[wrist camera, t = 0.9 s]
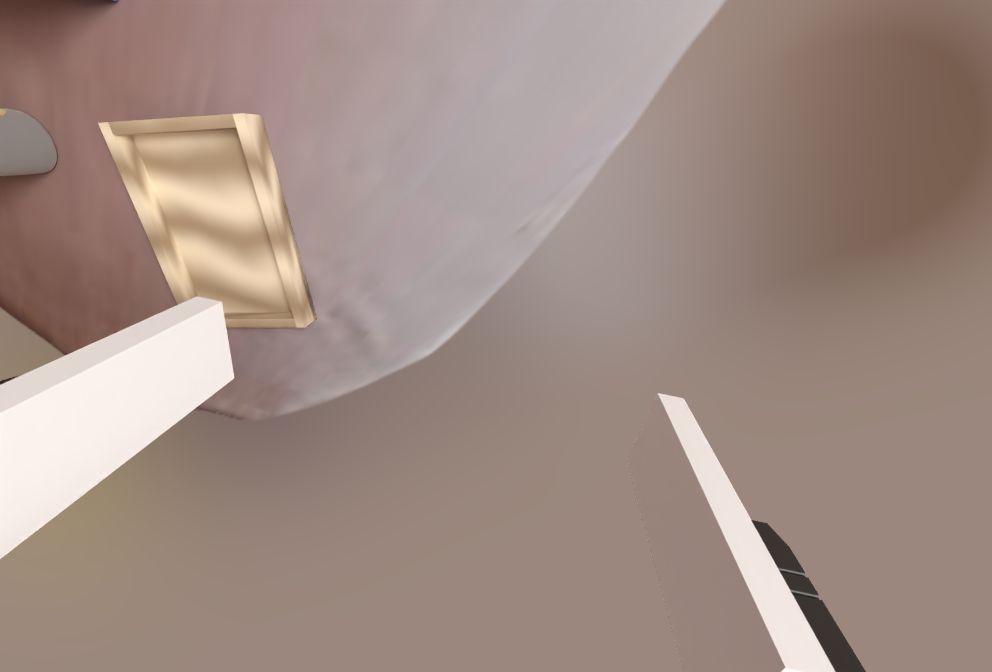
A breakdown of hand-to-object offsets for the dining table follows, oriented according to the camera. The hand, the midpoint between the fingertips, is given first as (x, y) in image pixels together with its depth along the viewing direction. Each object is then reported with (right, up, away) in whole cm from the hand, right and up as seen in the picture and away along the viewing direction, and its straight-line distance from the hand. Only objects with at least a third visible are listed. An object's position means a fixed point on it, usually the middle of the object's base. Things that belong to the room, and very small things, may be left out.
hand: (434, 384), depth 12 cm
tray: (-26, +12, +28) cm, 40 cm away
